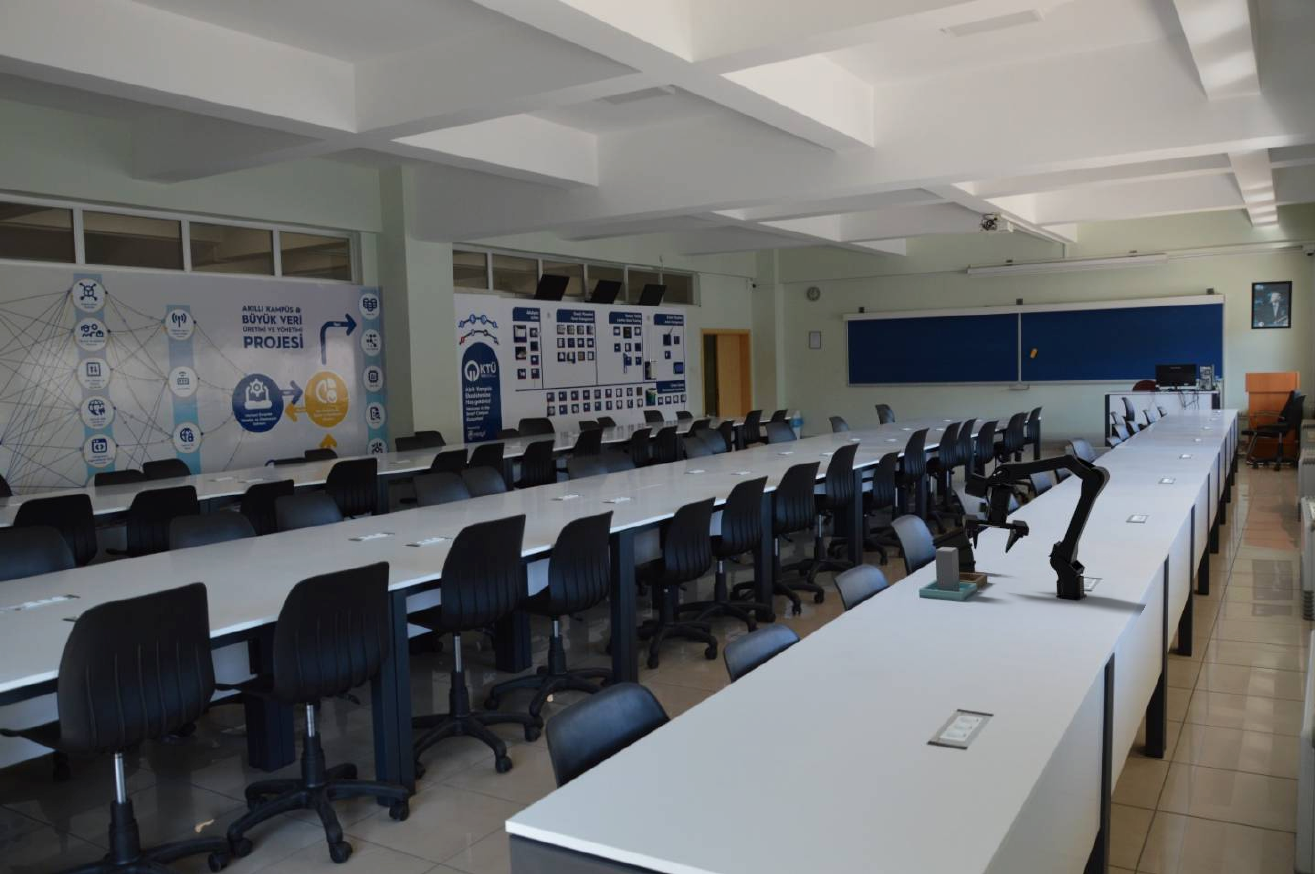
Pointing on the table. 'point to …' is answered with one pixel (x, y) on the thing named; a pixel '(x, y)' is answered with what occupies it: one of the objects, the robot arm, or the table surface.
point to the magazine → (963, 545)
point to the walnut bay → (973, 578)
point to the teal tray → (961, 595)
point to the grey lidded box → (947, 569)
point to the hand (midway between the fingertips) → (990, 550)
